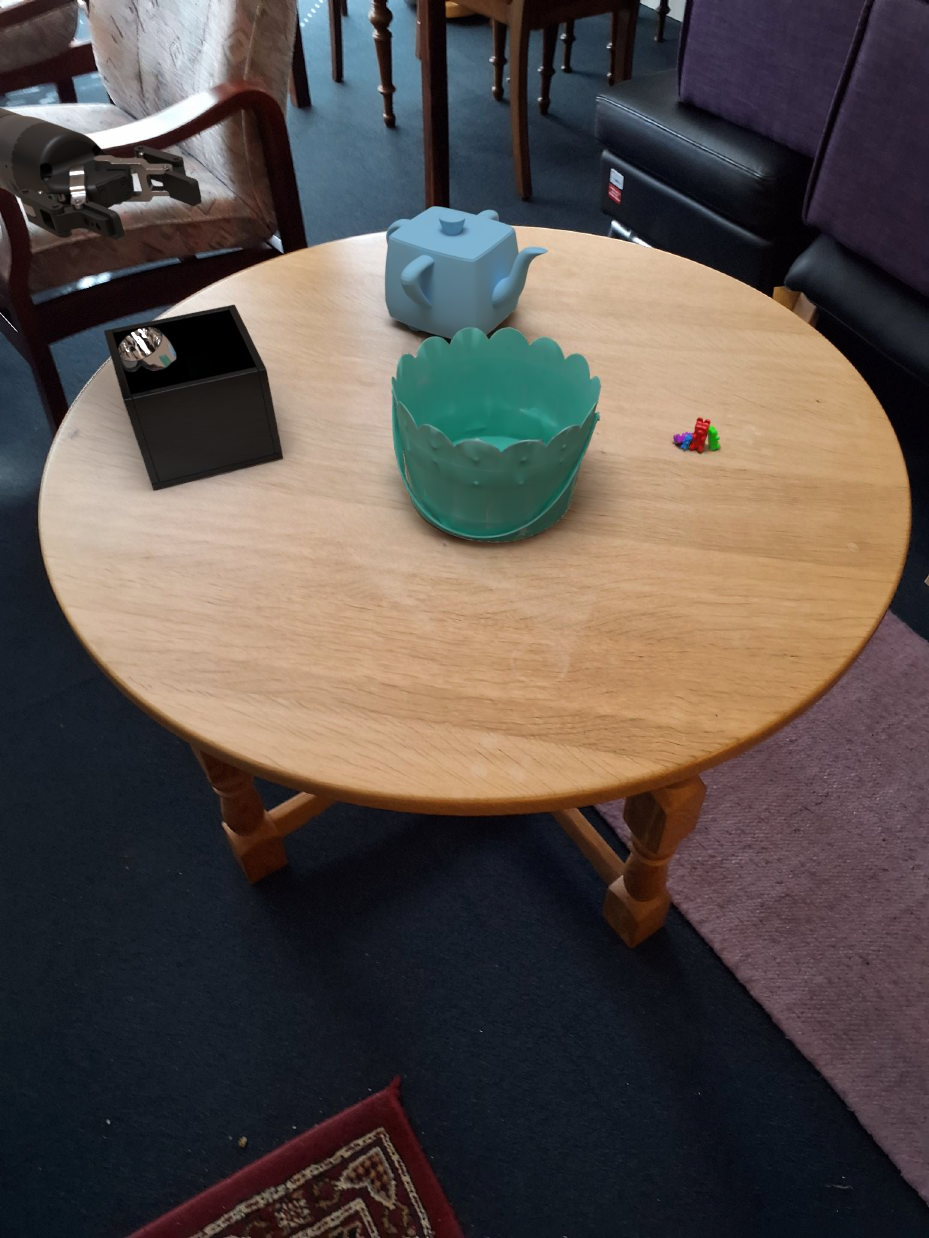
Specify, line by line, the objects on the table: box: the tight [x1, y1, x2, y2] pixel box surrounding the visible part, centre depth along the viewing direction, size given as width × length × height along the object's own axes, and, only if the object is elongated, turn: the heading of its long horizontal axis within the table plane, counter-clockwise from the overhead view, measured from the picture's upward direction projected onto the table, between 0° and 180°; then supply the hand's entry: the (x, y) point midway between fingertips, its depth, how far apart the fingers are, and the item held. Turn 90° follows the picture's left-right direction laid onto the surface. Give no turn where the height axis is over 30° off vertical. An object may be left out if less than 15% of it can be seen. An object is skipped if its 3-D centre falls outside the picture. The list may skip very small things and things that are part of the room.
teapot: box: [384, 206, 549, 341], centre depth 109 cm, size 18×16×14 cm
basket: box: [390, 327, 602, 544], centre depth 86 cm, size 19×18×13 cm
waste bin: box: [103, 304, 284, 491], centre depth 93 cm, size 14×14×11 cm
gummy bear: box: [672, 416, 721, 453], centre depth 94 cm, size 5×3×4 cm, turn 65°
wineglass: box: [118, 327, 189, 393], centre depth 91 cm, size 6×6×12 cm
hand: (159, 210), depth 78 cm, fingers open, 8 cm apart
